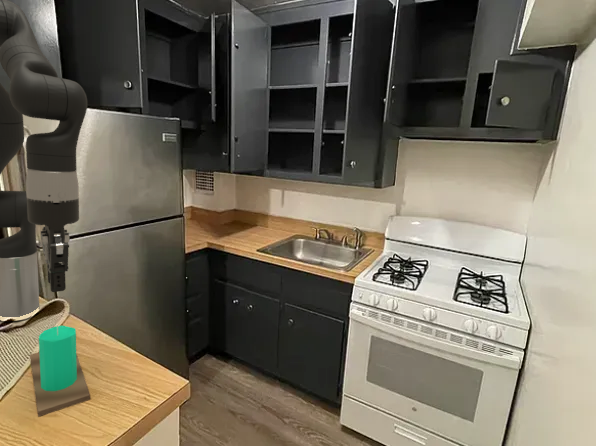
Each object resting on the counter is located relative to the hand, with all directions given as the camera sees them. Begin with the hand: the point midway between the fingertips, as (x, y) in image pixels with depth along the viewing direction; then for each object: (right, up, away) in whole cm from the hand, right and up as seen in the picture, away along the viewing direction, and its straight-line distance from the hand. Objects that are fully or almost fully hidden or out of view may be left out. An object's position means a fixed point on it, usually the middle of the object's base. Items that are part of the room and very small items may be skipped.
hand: (56, 286), depth 64 cm
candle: (-2, -20, +4) cm, 20 cm away
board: (-4, -20, +6) cm, 21 cm away
